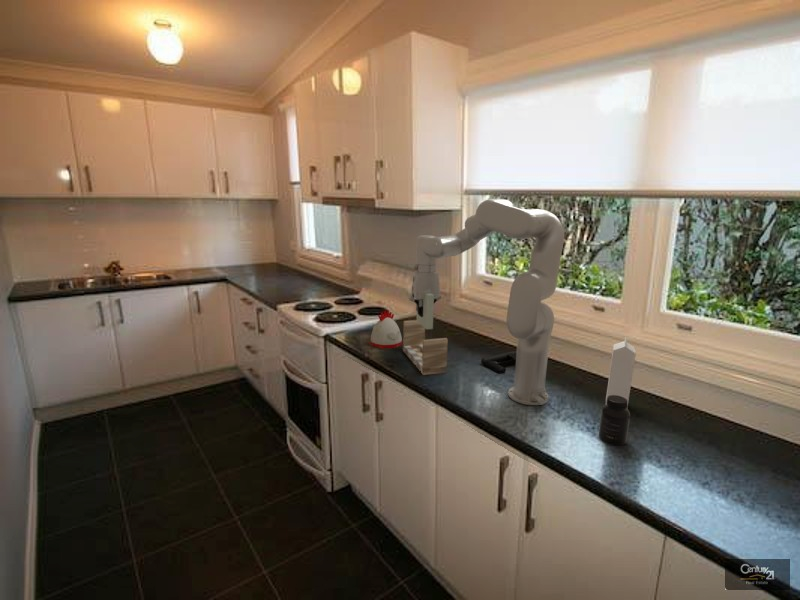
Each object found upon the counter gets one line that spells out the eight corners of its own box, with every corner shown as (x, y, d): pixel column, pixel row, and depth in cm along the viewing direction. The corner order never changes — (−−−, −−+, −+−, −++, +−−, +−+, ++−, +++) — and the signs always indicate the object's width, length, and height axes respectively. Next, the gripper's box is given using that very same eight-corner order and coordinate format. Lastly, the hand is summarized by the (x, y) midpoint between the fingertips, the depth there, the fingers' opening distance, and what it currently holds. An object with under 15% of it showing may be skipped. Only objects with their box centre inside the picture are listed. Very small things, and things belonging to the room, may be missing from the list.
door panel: (432, 328, 159) (433, 295, 156) (424, 329, 158) (426, 295, 155) (422, 320, 170) (423, 288, 167) (414, 320, 169) (415, 288, 166)
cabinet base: (446, 372, 157) (447, 339, 154) (423, 374, 154) (424, 341, 151) (423, 348, 181) (424, 319, 178) (403, 350, 179) (403, 320, 176)
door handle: (545, 363, 162) (515, 347, 175) (506, 373, 152) (477, 356, 166) (544, 371, 163) (514, 355, 176) (505, 381, 153) (477, 363, 166)
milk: (605, 407, 132) (614, 340, 127) (605, 399, 138) (614, 334, 133) (627, 411, 130) (637, 343, 125) (626, 403, 135) (636, 337, 130)
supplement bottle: (601, 430, 119) (607, 390, 116) (628, 438, 115) (635, 398, 112) (594, 440, 114) (600, 399, 111) (622, 449, 110) (629, 407, 107)
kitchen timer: (364, 342, 188) (364, 309, 185) (388, 336, 197) (389, 305, 194) (383, 350, 178) (383, 316, 175) (408, 344, 187) (408, 311, 183)
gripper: (408, 270, 153) (407, 319, 158) (449, 269, 158) (447, 317, 162) (402, 267, 160) (401, 314, 165) (442, 266, 165) (440, 312, 169)
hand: (424, 315), depth 163 cm, fingers closed on door panel, 2 cm apart
